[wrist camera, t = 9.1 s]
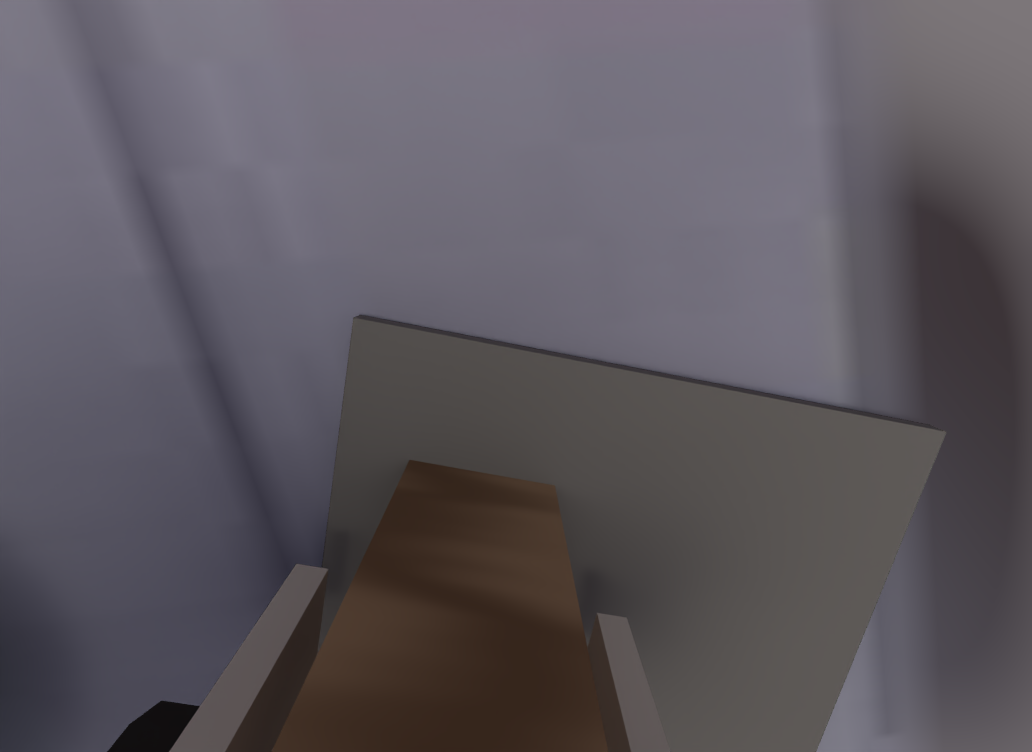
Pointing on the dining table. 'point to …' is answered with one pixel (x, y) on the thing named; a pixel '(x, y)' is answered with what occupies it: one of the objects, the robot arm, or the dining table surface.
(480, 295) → the dining table surface
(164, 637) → the dining table surface
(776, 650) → the rubber mat
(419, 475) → the walnut block
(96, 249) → the dining table surface
